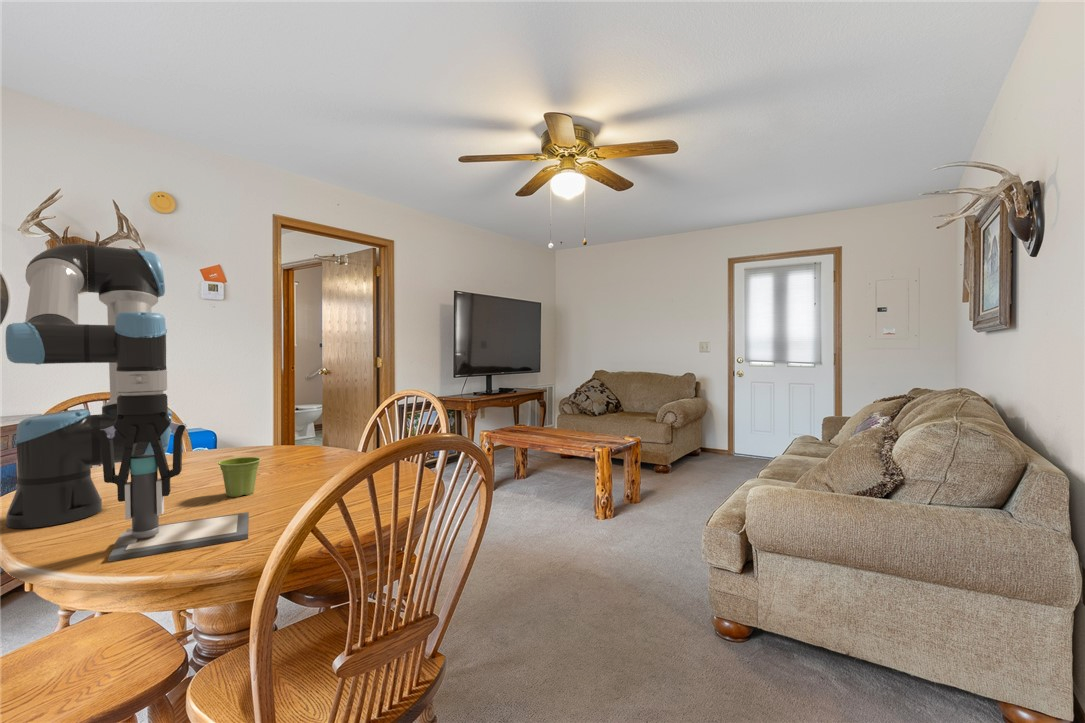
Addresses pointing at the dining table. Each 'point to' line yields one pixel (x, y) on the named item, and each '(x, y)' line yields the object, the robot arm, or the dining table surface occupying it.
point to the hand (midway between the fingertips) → (145, 515)
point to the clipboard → (183, 536)
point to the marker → (144, 496)
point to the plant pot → (239, 475)
